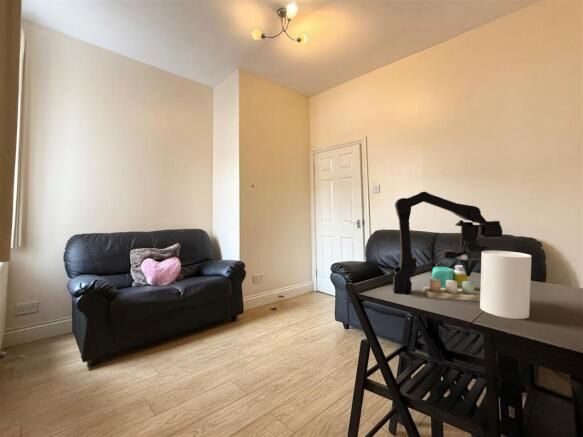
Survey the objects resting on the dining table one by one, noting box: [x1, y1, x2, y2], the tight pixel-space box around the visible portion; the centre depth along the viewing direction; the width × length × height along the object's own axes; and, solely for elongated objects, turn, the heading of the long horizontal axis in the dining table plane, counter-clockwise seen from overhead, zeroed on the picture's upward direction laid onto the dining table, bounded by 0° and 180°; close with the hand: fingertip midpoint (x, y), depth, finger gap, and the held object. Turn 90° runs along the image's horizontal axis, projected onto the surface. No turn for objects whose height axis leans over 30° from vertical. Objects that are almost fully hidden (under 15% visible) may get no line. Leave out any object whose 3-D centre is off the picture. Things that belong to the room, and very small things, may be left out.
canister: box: [479, 250, 532, 320], centre depth 96 cm, size 14×14×20 cm
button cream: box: [446, 280, 457, 293], centre depth 113 cm, size 4×4×4 cm
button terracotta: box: [429, 278, 441, 291], centre depth 114 cm, size 4×4×4 cm
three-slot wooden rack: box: [422, 286, 480, 302], centre depth 113 cm, size 19×10×2 cm, turn 75°
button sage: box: [462, 280, 475, 294], centre depth 111 cm, size 4×4×4 cm
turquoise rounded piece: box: [431, 266, 454, 288], centre depth 126 cm, size 8×8×8 cm
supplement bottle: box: [453, 264, 468, 289], centre depth 123 cm, size 5×5×10 cm
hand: (468, 276), depth 111 cm, fingers closed
